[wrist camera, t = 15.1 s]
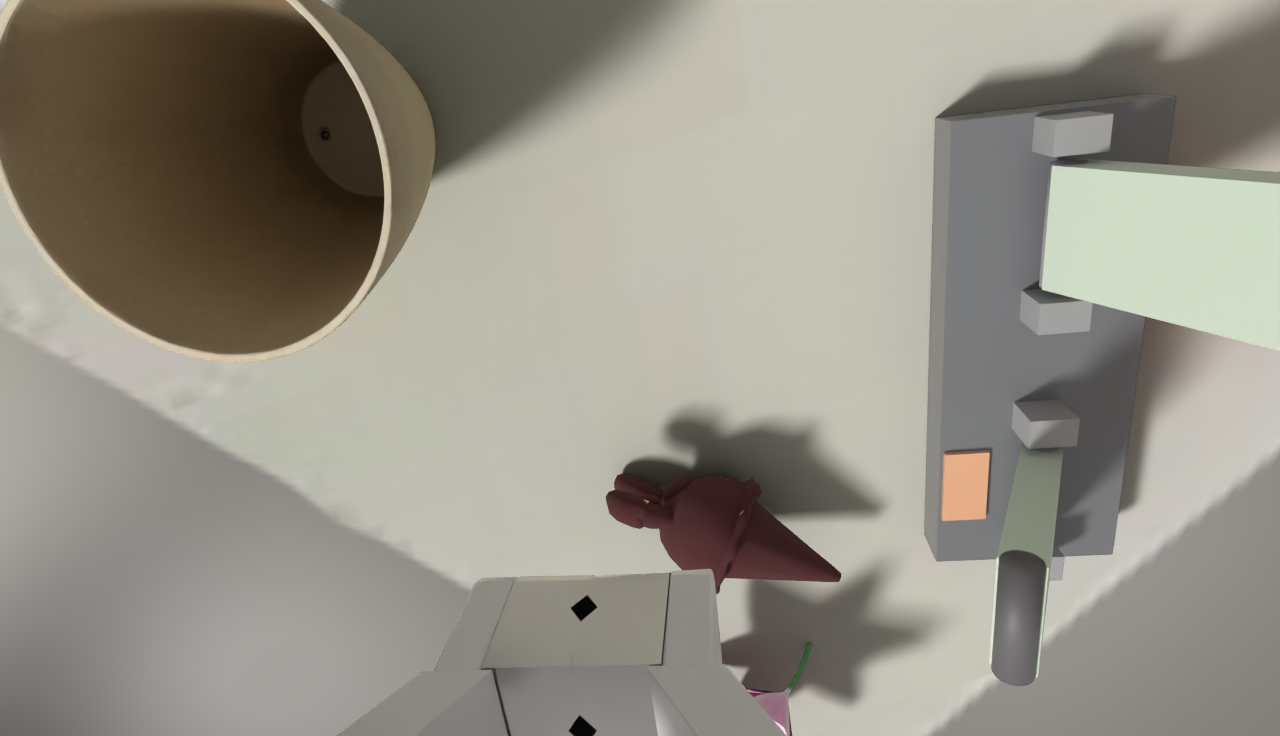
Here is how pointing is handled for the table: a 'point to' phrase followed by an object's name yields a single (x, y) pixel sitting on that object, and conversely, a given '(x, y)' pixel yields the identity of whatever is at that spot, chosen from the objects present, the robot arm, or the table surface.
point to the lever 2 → (1167, 244)
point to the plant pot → (211, 164)
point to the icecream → (717, 528)
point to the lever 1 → (1025, 566)
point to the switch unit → (1025, 328)
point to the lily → (779, 699)
